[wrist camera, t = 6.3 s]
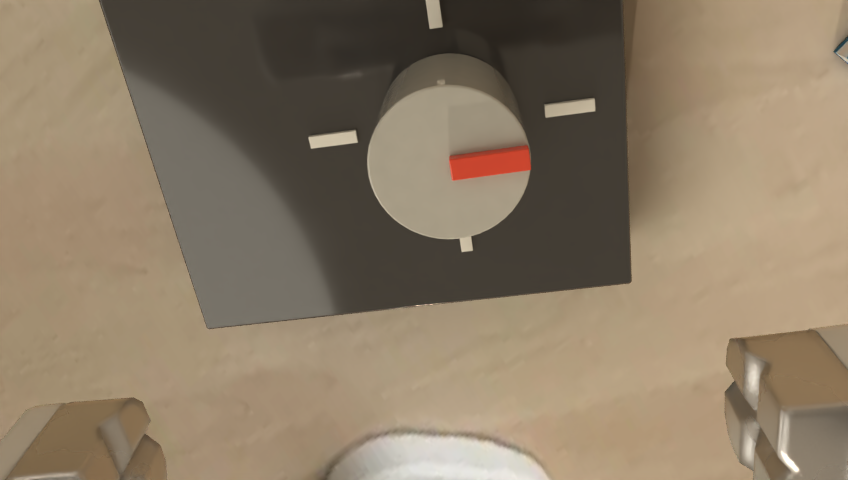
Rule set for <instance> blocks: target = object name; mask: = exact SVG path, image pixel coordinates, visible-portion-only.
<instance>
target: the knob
mask: <svg viewBox="0 0 848 480" xmlns="http://www.w3.org/2000/svg"><path fill="white" fill-rule="evenodd" d="M367 170H368V177H369V180H370V184H371V187H372V189H373V192H374V194H375V196H376V198H377V199H378V201H379V203H380V204H381V206H382V207H383V208H384V209H385V211H386V212H387V213H388V214H389V215H390V216H391V217H392V218H393V219H394V220H396V221H397V222H398V223H400V224H401V225H403V226H404V227H406V228H408V229H409V230H411V231H414V232H416V233H418V234H421V235H424V236H428V237H432V238H438V239H460V238H465V237H470V236H474V235H477V234H480V233H482V232H484V231H486V230H489V229H490V228H492V227H494V226H495V225H497V224H498V223H500V222H501V221H502V220H503V219H505V218H506V217H507V216H508V215H509V214H510V213H511V212H512V211H513V209H514V208H515V207H516V206H517V204H518V203H519V201H520V199H521V198H522V196H523V194H524V192H525V189H526V187H527V184H528V180H529V176H530V170H531V153H530V147H529V142H528V139H527V135H526V132H525V128H524V124H523V121H522V117H521V113H520V110H519V106H518V103H517V100H516V97H515V94H514V92H513V90H512V88H511V87H510V85H509V84H508V82H507V81H506V80H505V78H504V77H503V76H502V75H501V74H500V73H499V72H498V71H497V70H495V69H494V68H493V67H492V66H490V65H489V64H487V63H485V62H483V61H481V60H479V59H477V58H474V57H471V56H468V55H463V54H454V53H446V54H437V55H433V56H429V57H426V58H423V59H421V60H419V61H417V62H415V63H413V64H412V65H410V66H409V67H407V68H406V69H405V70H404V71H402V72H401V73H400V74H399V75H398V76H397V77H396V79H395V80H394V81H393V82H392V84H391V85H390V87H389V89H388V90H387V93H386V95H385V97H384V99H383V103H382V106H381V109H380V112H379V115H378V118H377V121H376V124H375V127H374V130H373V133H372V136H371V140H370V143H369V147H368V154H367Z"/></svg>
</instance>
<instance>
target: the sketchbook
mask: <svg viewBox="0 0 848 480" xmlns="http://www.w3.org/2000/svg"><path fill="white" fill-rule="evenodd" d="M833 52H834V53H836V54H837V55H838V56H839V57H840V58H841V59H843V60H844V61H845V62H846V63H847V64H848V37H847V38H846V39H845V40H844V41H843V42H842V43H841V44H840V45H839V46H838V47H837V48H836V49H835V50H834V51H833Z"/></svg>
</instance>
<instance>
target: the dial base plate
mask: <svg viewBox="0 0 848 480" xmlns="http://www.w3.org/2000/svg"><path fill="white" fill-rule="evenodd" d="M99 2H100V5H101V8H102V11H103V14H104V17H105V20H106V23H107V26H108V29H109V32H110V35H111V38H112V41H113V44H114V47H115V50H116V54H117V57H118V60H119V63H120V66H121V69H122V72H123V75H124V78H125V81H126V84H127V87H128V90H129V93H130V96H131V99H132V102H133V105H134V108H135V111H136V114H137V117H138V120H139V123H140V126H141V129H142V132H143V135H144V138H145V141H146V145H147V148H148V151H149V154H150V157H151V160H152V163H153V166H154V169H155V172H156V175H157V178H158V181H159V184H160V187H161V190H162V193H163V196H164V199H165V202H166V205H167V208H168V211H169V214H170V217H171V220H172V223H173V226H174V229H175V232H176V236H177V239H178V242H179V245H180V248H181V251H182V254H183V257H184V260H185V263H186V266H187V269H188V272H189V275H190V278H191V281H192V284H193V287H194V290H195V293H196V296H197V299H198V302H199V305H200V308H201V311H202V314H203V317H204V320H205V323H206V327H207V328H208V329H214V328H223V327H232V326H242V325H251V324H260V323H269V322H278V321H288V320H297V319H306V318H315V317H325V316H334V315H343V314H352V313H361V312H371V311H380V310H389V309H398V308H407V307H417V306H426V305H435V304H444V303H454V302H463V301H472V300H481V299H490V298H500V297H509V296H518V295H527V294H537V293H546V292H555V291H564V290H573V289H583V288H592V287H601V286H610V285H619V284H629V283H631V281H632V275H631V242H630V208H629V175H628V142H627V109H626V75H625V42H624V9H623V0H99ZM446 53H454V54H463V55H468V56H471V57H474V58H477V59H479V60H481V61H483V62H485V63H487V64H489V65H490V66H492V67H493V68H494V69H495V70H497V71H498V72H499V73H500V74H501V75H502V76H503V77H504V78H505V80H506V81H507V82H508V84H509V85H510V87H511V88H512V90H513V92H514V94H515V97H516V100H517V103H518V106H519V110H520V113H521V117H522V121H523V124H524V128H525V132H526V135H527V139H528V142H529V147H530V153H531V170H530V176H529V180H528V184H527V187H526V189H525V192H524V194H523V196H522V198H521V199H520V201H519V203H518V204H517V206H516V207H515V208H514V209H513V211H512V212H511V213H510V214H509V215H508V216H507V217H506V218H505V219H503V220H502V221H501V222H500V223H498V224H497V225H495V226H494V227H492V228H490V229H489V230H486V231H484V232H482V233H480V234H477V235H474V236H470V237H465V238H460V239H438V238H432V237H428V236H424V235H421V234H418V233H416V232H414V231H411V230H409V229H408V228H406V227H404V226H403V225H401V224H400V223H398V222H397V221H396V220H394V219H393V218H392V217H391V216H390V215H389V214H388V213H387V212H386V211H385V209H384V208H383V207H382V206H381V204H380V203H379V201H378V199H377V198H376V196H375V194H374V192H373V189H372V187H371V184H370V180H369V177H368V170H367V154H368V147H369V143H370V140H371V136H372V133H373V130H374V127H375V124H376V121H377V118H378V115H379V112H380V109H381V106H382V103H383V99H384V97H385V95H386V93H387V90H388V89H389V87H390V85H391V84H392V82H393V81H394V80H395V79H396V77H397V76H398V75H399V74H400V73H401V72H402V71H404V70H405V69H406V68H407V67H409V66H410V65H412V64H413V63H415V62H417V61H419V60H421V59H423V58H426V57H429V56H433V55H437V54H446Z"/></svg>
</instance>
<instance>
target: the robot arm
mask: <svg viewBox="0 0 848 480" xmlns="http://www.w3.org/2000/svg"><path fill="white" fill-rule="evenodd" d="M726 366H727V368H728V369H729V371H730V373H731V375H732V377H733V378H734V380H735V381H734V382H733V383H732V384H731V385H730V387H729V388H728V389H727V390H726V391H725V418H726V424H727V431H728V435H729V438H730V441H731V444H732V447H733V450H734V452H735V454H736V456H737V458H738V460H739V462H740V463H741V464H743V465H744V466H746V467H747V468H749V469H751V470H752V471H753V480H848V324H843V325H836V326H828V327H820V328H813V329H809V330H804V331H795V332H786V333H777V334H768V335H759V336H750V337H741V338H732V339H730V340H729V343H728V347H727V354H726ZM150 421H151V420H150V418H149V416H148V413H147V411H146V409H145V407H144V404H143V402H141V401H139V400H137V399H135V398H121V399H108V400H95V401H82V402H70V403H59V404H49V405H39V406H35V407H32V408H30V409H27V410H26V411H25V412H24V413H23V414H22V416H21V417H20V418H19V419H18V420H17V422H16V423H15V424H14V425H13V427H12V428H11V429H10V430H9V432H8V433H7V434H6V435H5V436H4V438H3V439H2V440H1V441H0V480H167V468H166V461H165V457H164V454H163V451H162V449H161V446H160V444H158V443H157V442H156V441H154V440H153V439H152V438H150V437H149V436H148V435H146V434H145V432H146V430H147V428H148V425H149V423H150Z"/></svg>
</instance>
